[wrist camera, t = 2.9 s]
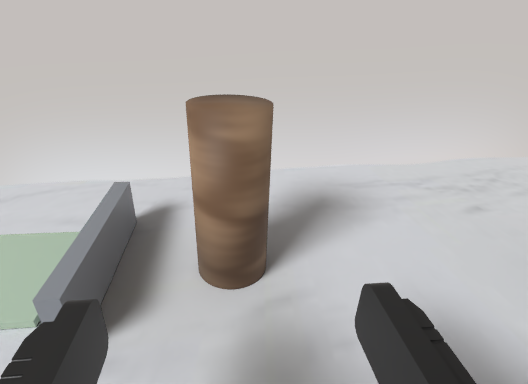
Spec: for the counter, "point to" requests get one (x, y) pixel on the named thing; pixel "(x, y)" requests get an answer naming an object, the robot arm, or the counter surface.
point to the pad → (27, 273)
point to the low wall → (90, 255)
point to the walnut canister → (230, 185)
